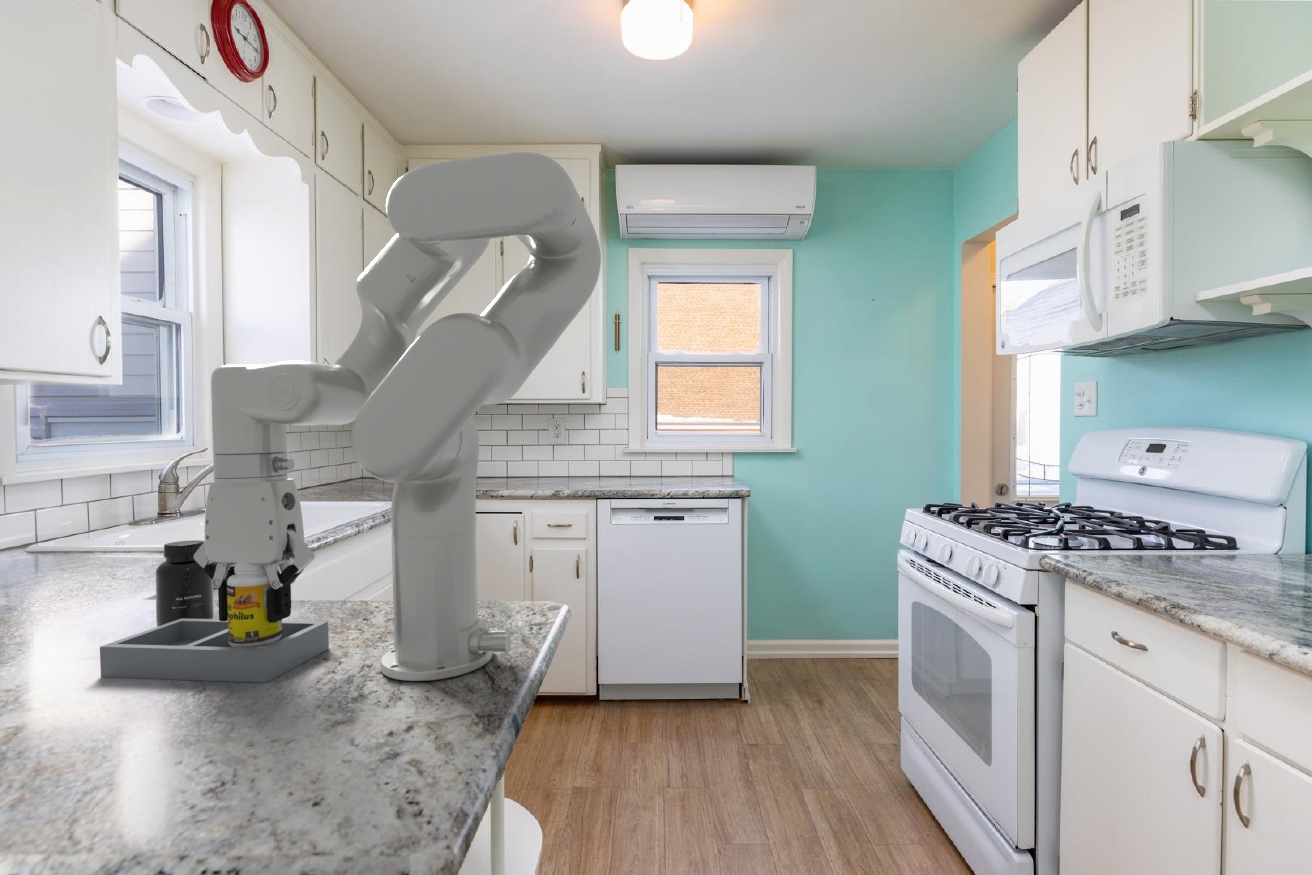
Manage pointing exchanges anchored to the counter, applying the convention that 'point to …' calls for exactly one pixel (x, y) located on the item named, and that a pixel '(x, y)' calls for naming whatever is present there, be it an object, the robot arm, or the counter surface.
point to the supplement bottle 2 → (250, 608)
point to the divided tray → (210, 652)
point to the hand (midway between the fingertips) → (255, 617)
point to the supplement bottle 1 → (182, 585)
